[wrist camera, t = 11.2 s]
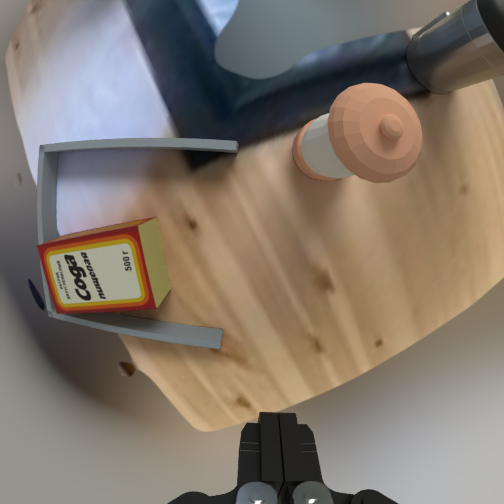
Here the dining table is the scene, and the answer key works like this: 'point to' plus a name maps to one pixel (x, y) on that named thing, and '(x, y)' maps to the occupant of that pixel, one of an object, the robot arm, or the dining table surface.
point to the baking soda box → (107, 268)
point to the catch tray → (49, 232)
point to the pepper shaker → (361, 137)
